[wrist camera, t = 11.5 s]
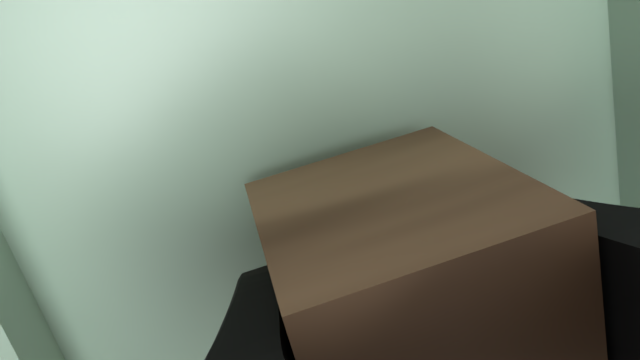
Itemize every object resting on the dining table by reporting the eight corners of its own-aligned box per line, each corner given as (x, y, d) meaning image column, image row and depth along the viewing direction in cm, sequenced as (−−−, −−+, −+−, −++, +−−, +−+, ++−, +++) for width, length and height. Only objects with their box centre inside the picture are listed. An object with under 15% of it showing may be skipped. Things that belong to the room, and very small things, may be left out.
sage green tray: (637, 384, 18) (703, 442, 15) (152, 572, 16) (145, 670, 13) (598, -275, 12) (698, -345, 9) (-193, -99, 10) (-312, -131, 7)
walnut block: (462, 290, 13) (615, 454, 8) (295, 348, 12) (357, 557, 8) (432, 125, 11) (595, 209, 7) (244, 184, 11) (281, 317, 6)
